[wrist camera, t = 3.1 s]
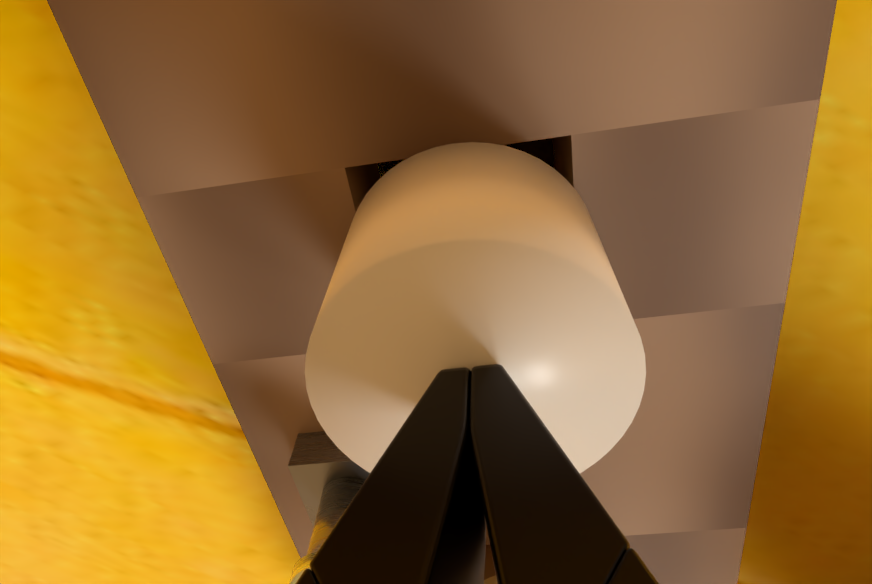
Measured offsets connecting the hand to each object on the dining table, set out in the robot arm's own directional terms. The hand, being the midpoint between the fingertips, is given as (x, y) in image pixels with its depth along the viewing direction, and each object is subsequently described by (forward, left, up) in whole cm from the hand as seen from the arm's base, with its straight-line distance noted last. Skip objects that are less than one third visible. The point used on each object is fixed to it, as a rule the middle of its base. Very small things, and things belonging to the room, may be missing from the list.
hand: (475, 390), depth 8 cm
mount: (0, +5, -7) cm, 9 cm away
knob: (0, 0, -7) cm, 7 cm away
